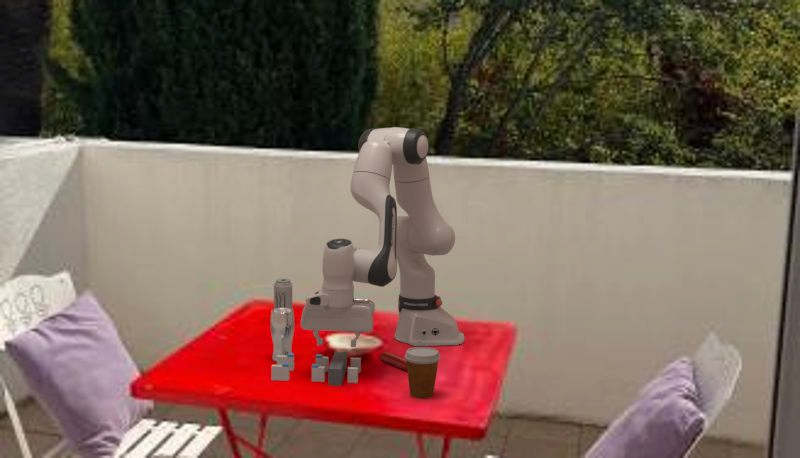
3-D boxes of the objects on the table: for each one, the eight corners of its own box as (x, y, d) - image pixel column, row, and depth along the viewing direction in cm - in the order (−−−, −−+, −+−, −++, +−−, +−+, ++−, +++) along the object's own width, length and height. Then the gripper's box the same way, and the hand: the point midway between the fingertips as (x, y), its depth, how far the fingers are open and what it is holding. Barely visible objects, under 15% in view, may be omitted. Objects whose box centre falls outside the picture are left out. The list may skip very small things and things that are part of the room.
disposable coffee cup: (402, 388, 279) (403, 346, 276) (437, 388, 279) (438, 346, 277) (405, 400, 269) (406, 356, 267) (441, 400, 270) (442, 356, 268)
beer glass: (290, 363, 299) (290, 314, 296) (267, 361, 300) (267, 312, 297) (297, 356, 305) (297, 308, 303) (274, 355, 307) (274, 306, 304)
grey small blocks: (360, 371, 293) (360, 355, 292) (357, 382, 283) (357, 367, 282) (277, 368, 294) (277, 353, 293) (271, 380, 284) (271, 364, 283)
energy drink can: (271, 325, 339) (271, 281, 336) (277, 321, 345) (276, 277, 342) (289, 326, 338) (289, 282, 335) (294, 322, 344) (294, 278, 341)
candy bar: (420, 372, 294) (420, 362, 293) (410, 374, 292) (410, 364, 291) (386, 358, 306) (387, 349, 306) (377, 360, 304) (377, 351, 304)
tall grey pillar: (346, 368, 296) (347, 352, 295) (340, 386, 280) (341, 369, 279) (334, 368, 296) (335, 351, 295) (328, 386, 280) (328, 368, 279)
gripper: (375, 296, 287) (374, 344, 289) (303, 293, 288) (302, 341, 290) (374, 301, 280) (372, 350, 283) (300, 298, 281) (299, 347, 284)
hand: (336, 345), depth 286 cm, fingers open, 8 cm apart
